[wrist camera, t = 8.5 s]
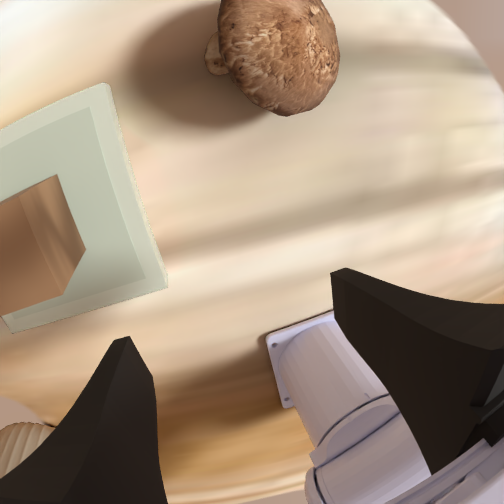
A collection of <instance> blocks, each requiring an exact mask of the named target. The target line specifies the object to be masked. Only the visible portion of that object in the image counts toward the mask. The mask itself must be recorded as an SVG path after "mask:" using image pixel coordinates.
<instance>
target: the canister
mask: <svg viewBox="0 0 504 504" xmlns="http://www.w3.org/2000/svg"><path fill="white" fill-rule="evenodd" d="M54 429H55V427H49V426H47V425H41V424H38V423H36V424H34V423H30V422H28V423H24V422H21V423H14V424H12V425H8V426H6V427H5V428H3V429H2V430H0V478H2V477H3V476H4V475H6V474H7V473H9V472H10V471H11V470H13V469H14V468H15V467H17V466H18V465H19V464H20V463H21V462H23V461H24V460H25V459H26V458H27V457H28V456H29V455H30V454H31V453H33V452H34V451H35V450H36V449H37V448H38V447H39V446H40V445H41V444H42V443H43V441H44V440H45V439H46V438H47V437H48V436H49V435H50V434H51V433H52V432H53V430H54Z"/></svg>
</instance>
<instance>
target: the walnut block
mask: <svg viewBox="0 0 504 504" xmlns="http://www.w3.org/2000/svg"><path fill="white" fill-rule="evenodd" d="M85 251H86V248H85V245H84V243H83V241H82V238H81V236H80V234H79V231H78V229H77V226H76V224H75V221H74V219H73V216H72V214H71V211H70V208H69V206H68V203H67V200H66V198H65V195H64V192H63V189H62V187H61V184H60V181H59V178H58V175H57V174H56V175H54V176H51V177H49V178H47V179H45V180H43V181H41V182H39V183H36V184H34V185H32V186H30V187H28V188H26V189H24V190H22V191H20V192H18V193H16V194H14V195H12V196H10V197H9V198H7V199H5V200H3V201H1V202H0V317H1V316H4V315H7V314H9V313H12V312H15V311H18V310H21V309H23V308H26V307H29V306H32V305H35V304H38V303H41V302H43V301H46V300H49V299H52V298H55V297H58V296H61V295H63V293H64V291H65V289H66V287H67V285H68V283H69V281H70V279H71V277H72V275H73V273H74V271H75V269H76V267H77V266H78V264H79V262H80V260H81V258H82V256H83V254H84V253H85Z"/></svg>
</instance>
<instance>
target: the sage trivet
mask: <svg viewBox="0 0 504 504" xmlns="http://www.w3.org/2000/svg"><path fill="white" fill-rule="evenodd" d="M56 174H57V175H58V178H59V181H60V184H61V187H62V189H63V192H64V195H65V198H66V200H67V203H68V206H69V208H70V211H71V214H72V216H73V219H74V221H75V224H76V226H77V229H78V231H79V234H80V236H81V238H82V241H83V243H84V245H85V248H86V251H85V253H84V254H83V256H82V258H81V260H80V262H79V264H78V266H77V267H76V269H75V271H74V273H73V275H72V277H71V279H70V281H69V283H68V285H67V287H66V289H65V291H64V293H63V295H61V296H58V297H55V298H52V299H49V300H46V301H43V302H41V303H38V304H35V305H32V306H29V307H26V308H23V309H21V310H18V311H15V312H12V313H9V314H7V315H4V316H1V317H2V318H3V320H4V322H5V323H6V325H7V327H8V328H9V330H10V331H11V333H12V334H14V333H17V332H21V331H24V330H27V329H31V328H34V327H38V326H41V325H45V324H48V323H51V322H55V321H58V320H62V319H65V318H68V317H72V316H75V315H79V314H82V313H85V312H89V311H92V310H95V309H99V308H102V307H105V306H109V305H112V304H115V303H119V302H122V301H125V300H129V299H132V298H135V297H139V296H142V295H145V294H149V293H152V292H155V291H159V290H162V289H165V288H168V277H167V272H166V269H165V266H164V263H163V261H162V258H161V255H160V252H159V250H158V247H157V244H156V241H155V238H154V235H153V232H152V230H151V227H150V224H149V221H148V218H147V215H146V212H145V209H144V205H143V202H142V199H141V196H140V193H139V190H138V187H137V183H136V180H135V177H134V174H133V170H132V167H131V163H130V160H129V157H128V153H127V150H126V146H125V142H124V139H123V135H122V131H121V128H120V124H119V120H118V116H117V112H116V108H115V104H114V100H113V96H112V92H111V88H110V85H108V84H106V83H105V82H103V83H100V84H97V85H95V86H92V87H90V88H87V89H84V90H82V91H79V92H77V93H75V94H72V95H70V96H67V97H65V98H63V99H61V100H58V101H56V102H54V103H52V104H50V105H47V106H45V107H43V108H41V109H39V110H37V111H35V112H33V113H31V114H29V115H27V116H25V117H23V118H21V119H19V120H17V121H15V122H14V123H12V124H10V125H8V126H6V127H5V128H3V129H1V130H0V202H1V201H3V200H5V199H7V198H9V197H10V196H12V195H14V194H16V193H18V192H20V191H22V190H24V189H26V188H28V187H30V186H32V185H34V184H36V183H39V182H41V181H43V180H45V179H47V178H49V177H51V176H54V175H56Z"/></svg>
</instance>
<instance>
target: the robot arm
mask: <svg viewBox="0 0 504 504" xmlns="http://www.w3.org/2000/svg"><path fill="white" fill-rule="evenodd" d="M330 275H331V285H332V297H333V308H334V310H333V311H331V312H328V313H326V314H323V315H320V316H318V317H315V318H312V319H309V320H307V321H304V322H301V323H298V324H296V325H293V326H290V327H287V328H284V329H281V330H278V331H276V332H273V333H270V334H268V335H267V336H266V344H267V348H268V352H269V356H270V360H271V364H272V367H273V371H274V375H275V379H276V383H277V387H278V391H279V395H280V399H281V403H282V406H283V407H284V408H290V407H293V406H295V408H296V410H297V412H298V414H299V416H300V418H301V420H302V422H303V425H304V427H305V429H306V431H307V433H308V435H309V437H310V439H311V441H312V443H313V445H314V447H315V450H314V451H312V452H311V453H310V454H309V455H310V458H311V460H312V462H313V464H314V467H312V468H310V469H309V470H308V471H307V473H306V481H305V494H306V498H307V501H308V504H504V304H483V303H471V302H463V301H455V300H449V299H444V298H439V297H434V296H430V295H426V294H422V293H419V292H415V291H412V290H408V289H405V288H402V287H399V286H396V285H393V284H390V283H388V282H385V281H382V280H379V279H377V278H374V277H371V276H369V275H366V274H363V273H361V272H358V271H355V270H352V269H349V268H343V269H340V270H337V271H334V272H332V273H330ZM273 343H275V344H274V345H272V344H273ZM0 504H168V502H167V498H166V494H165V490H164V486H163V481H162V476H161V471H160V465H159V456H158V438H157V408H156V396H155V389H154V383H153V376H152V375H151V373H150V371H149V370H148V368H147V366H146V364H145V363H144V361H143V359H142V357H141V356H140V354H139V352H138V350H137V349H136V347H135V345H134V343H133V341H132V339H131V337H130V336H127V337H124V338H120V339H116V340H114V341H113V342H112V344H111V345H110V347H109V348H108V350H107V352H106V353H105V355H104V357H103V358H102V360H101V362H100V364H99V365H98V367H97V369H96V370H95V372H94V374H93V375H92V377H91V379H90V380H89V382H88V383H87V385H86V387H85V388H84V390H83V391H82V393H81V394H80V396H79V397H78V399H77V400H76V402H75V403H74V405H73V406H72V408H71V409H70V410H69V412H68V413H67V415H66V416H65V417H64V418H63V420H62V421H61V422H60V423H59V425H58V426H57V427H56V428H55V429H54V430H53V432H52V433H51V434H50V435H49V436H48V437H47V438H46V439H45V440H44V441H43V443H42V444H41V445H40V446H39V447H38V448H37V449H36V450H35V451H34V452H33V453H31V454H30V455H29V456H28V457H27V458H26V459H25V460H24V461H23V462H21V463H20V464H19V465H18V466H17V467H15V468H14V469H13V470H11V471H10V472H9V473H7V474H6V475H4V476H3V477H2V478H0Z"/></svg>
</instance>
